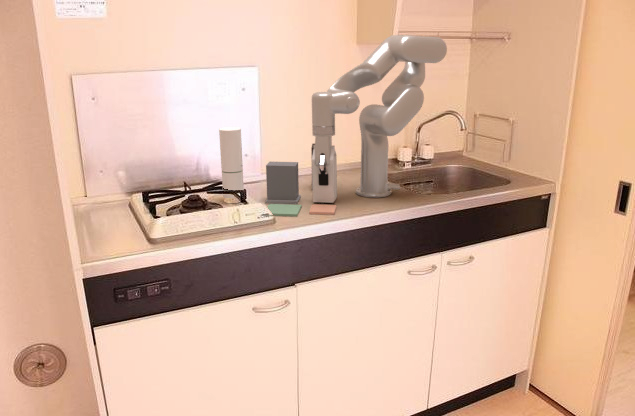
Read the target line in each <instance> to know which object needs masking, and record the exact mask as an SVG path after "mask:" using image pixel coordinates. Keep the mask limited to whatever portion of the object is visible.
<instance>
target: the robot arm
mask: <svg viewBox="0 0 635 416" xmlns="http://www.w3.org/2000/svg"><path fill="white" fill-rule="evenodd" d="M447 52H448V46H447V43H446V41H445V40H444V39H443V38H441V37H438V36H420V35H419V36H418V35H412V34H405V35H404V34H401V35H400V34H395V35H390V36H388V37H386V38H385V39H384V40H383V41H382V42H381V43H380V44H379V45H378V46H377V47H376V48H375V49H374V51H372V52H371V53H370V54H369V56H368V57H367V58H365V60H364V61H363V62H362V63H360V64H359V65H357V66H355V67H354V68H352V69H350V70H349V71H347V72H346V73H344V74H342V75H341V76H340V77H339V78H338V79H337V80H335V82H334V83H333V84H332V85H331V86H330V87H329V88H328V89H327V90H326V91H318V92H314V93H313V94H312V96H311V122H312V123H311V125H312V127H311V128H312V129H311V130H312V136H313V137H314V144H315V165H316V166H317V165H318V164H319V174H318V176H319V185H320V186H328V174H327V166H329V162H330V155H331V146H332V145H333V142H332V141H333V136H335V135H336V115H337V114H341V115H350V114H353V113H355V112H356V111H357V110H358V109H359V107H360V103H361V102H360V97H359V96H358V95H357V93H355V92H357V91H359V90H360V89H362V88H365V87H369V86H372V85H374V84H377V83H380V82H381V81H382V80H383V79H384V78H385V77H386V76H387V74H388V73H389V72H390V71H392V69H394V68H395V66H396V65H397V64H398V63H400V62H404V67H403V69H402V70H401V72H400V73H399V74H398V76H396V78H395V79H394V80H393V81H392V82H391V83H390V84H389V85H388V86H387V87H386V88H385V90H384V91H383V93H382V96H381V103H382V104H383V105H381V104H373V103H372V104H369V105H366V106H365V107H364V108H363V109H362V110H361V111H360V113H359V118H358V121H359V122H358V123H359V131H360V140H361V151H360V186H359V187H357V188H355V194H357V195H358V196H361V197H364V198H365V197H366V198H371V199H372V198H374V199H375V198H377V199H378V198H385V197H388V196H390V195H391V194H392V190H396V191H397V190H398V191H400V189H401V188H400V187H401V186H400V184H397V183H395V182H394V183H393V182H392V183H391V182H389V179H388V168H389V167H388V165H389V138H388V137H394V136H396V135H398V134H399V133H401V131H403V130H404V129H405V127H406V126H407V125H408V124H409V123H410V122H411V121H412V120H413V118H415V117H416V115H418V113H419V112H420V110H421V109H422V108H423V105H424V101H425V93H424V92H423V90H422V88H421V86H422V85H423V84H424V82H425V79H426V64H437V63H439V62H442V61H443V60H444V58H445V57H446V55H447ZM324 160H326V162H327V163H326V164H324ZM319 161H320V162H319ZM325 167H326V168H325Z"/></svg>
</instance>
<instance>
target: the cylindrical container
mask: <svg viewBox="0 0 635 416" xmlns="http://www.w3.org/2000/svg"><path fill="white" fill-rule="evenodd" d="M218 132H219V145H220V146H219V149H220V150H219V151H220V165H221V166H220V167H221V180H222V181H221V183H222V189H223V188H224V189H228V190H244V191H245V188H244V187H245V185H244V169H243V147H242V146H243V145H242V128H241V127H237V126H227V127H226V126H225V127H221V128H219V129H218ZM223 197H225V198H234V195H230V194H226V195H223V194H222V198H223Z"/></svg>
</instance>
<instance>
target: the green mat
mask: <svg viewBox="0 0 635 416" xmlns="http://www.w3.org/2000/svg"><path fill="white" fill-rule="evenodd" d="M267 207H268V209H269V210H270V211H271V212H272V214H273V215H275V216H274V217H292V218H293V217H296V218H297V217H298V216H299V214H300V212H301V209H302V207H303V206H302V204H271V203H268V205H267ZM267 207H266V208H267Z"/></svg>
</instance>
